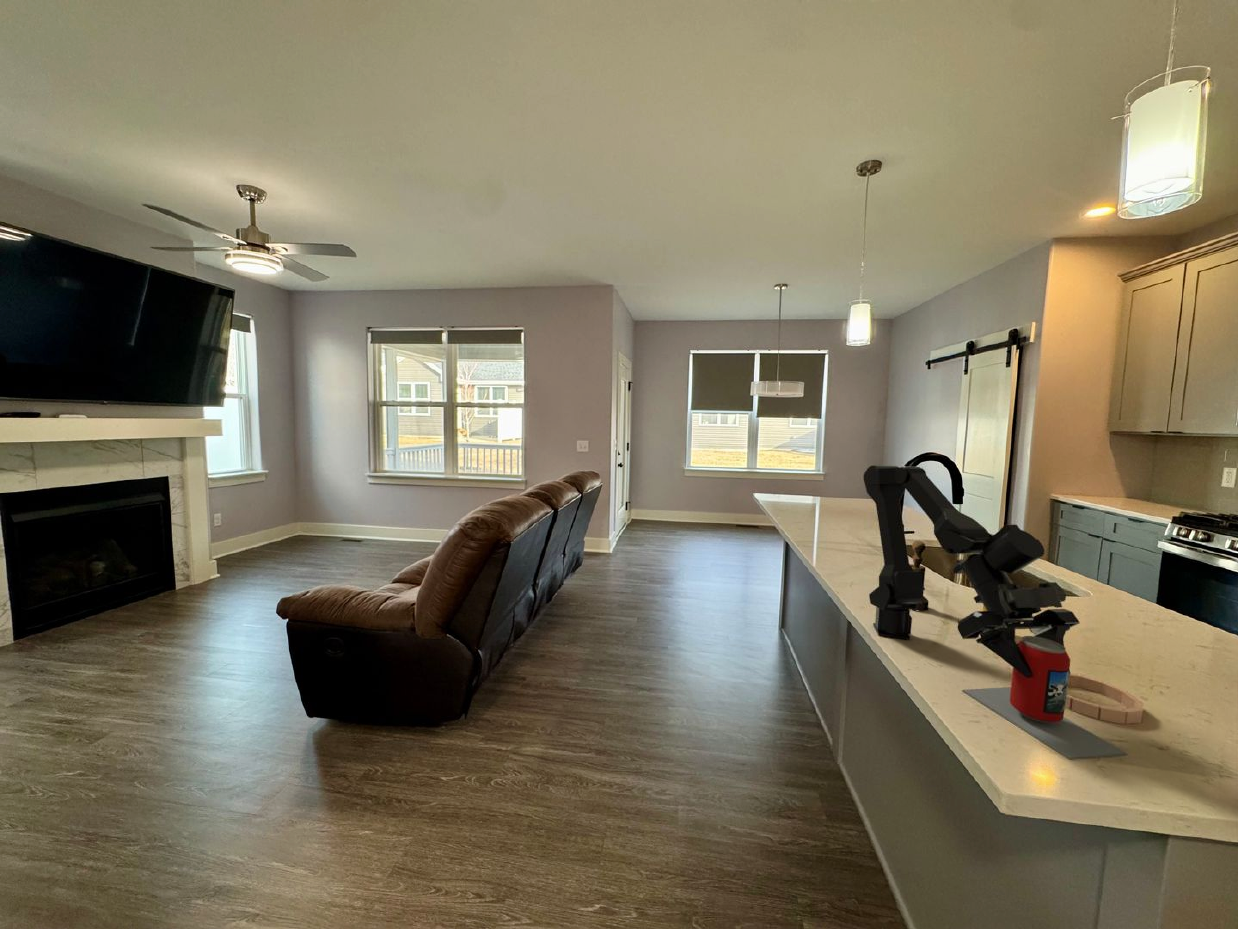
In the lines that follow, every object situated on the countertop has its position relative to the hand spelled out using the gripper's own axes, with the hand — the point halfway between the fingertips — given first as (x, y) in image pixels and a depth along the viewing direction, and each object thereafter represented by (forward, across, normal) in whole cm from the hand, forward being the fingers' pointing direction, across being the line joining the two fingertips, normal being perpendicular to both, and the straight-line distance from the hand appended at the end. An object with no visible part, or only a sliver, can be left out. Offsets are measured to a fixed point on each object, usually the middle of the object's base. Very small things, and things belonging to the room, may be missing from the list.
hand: (1048, 676), depth 77 cm
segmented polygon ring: (+2, +15, +9) cm, 18 cm away
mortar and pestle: (-29, +19, +42) cm, 54 cm away
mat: (+5, 0, +6) cm, 8 cm away
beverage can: (+4, 0, +6) cm, 7 cm away
